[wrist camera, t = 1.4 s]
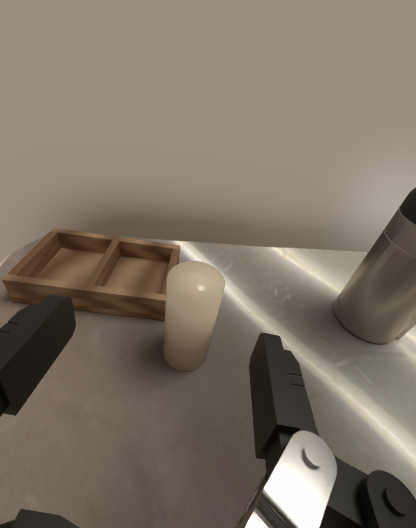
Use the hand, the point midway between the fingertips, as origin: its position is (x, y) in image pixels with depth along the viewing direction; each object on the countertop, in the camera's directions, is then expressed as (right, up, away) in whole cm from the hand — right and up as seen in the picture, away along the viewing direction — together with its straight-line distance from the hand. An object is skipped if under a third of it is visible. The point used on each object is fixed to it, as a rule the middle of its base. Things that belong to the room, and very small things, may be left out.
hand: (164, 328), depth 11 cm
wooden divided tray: (-13, 0, +27) cm, 30 cm away
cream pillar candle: (-1, -8, +20) cm, 22 cm away
